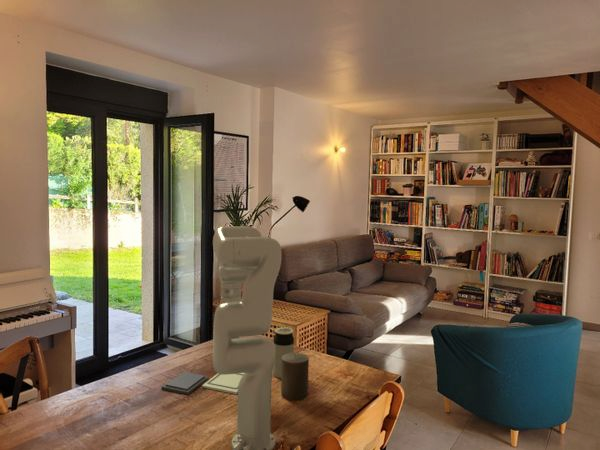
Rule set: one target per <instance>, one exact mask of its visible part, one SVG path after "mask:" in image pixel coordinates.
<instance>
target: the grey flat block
mask: <svg viewBox="0 0 600 450" xmlns="http://www.w3.org/2000/svg"><path fill="white" fill-rule="evenodd" d="M208 380H210V379H209V376H208V375H203V374H199V373H192V372H189V371H183V372H182V373H180V374H178V375H177V376H175V377H174V378H172V379H170V380H169V381H168V382H166V383H165V384H163V385H162V386H161V390H163V391H168V392H173V393H178V394H181V395H190V394H191V393H193V392H194V391H195V390H196V389H197V388H199V387H200V386H202V385H203V384H204V383H206V382H207V381H208Z"/></svg>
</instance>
